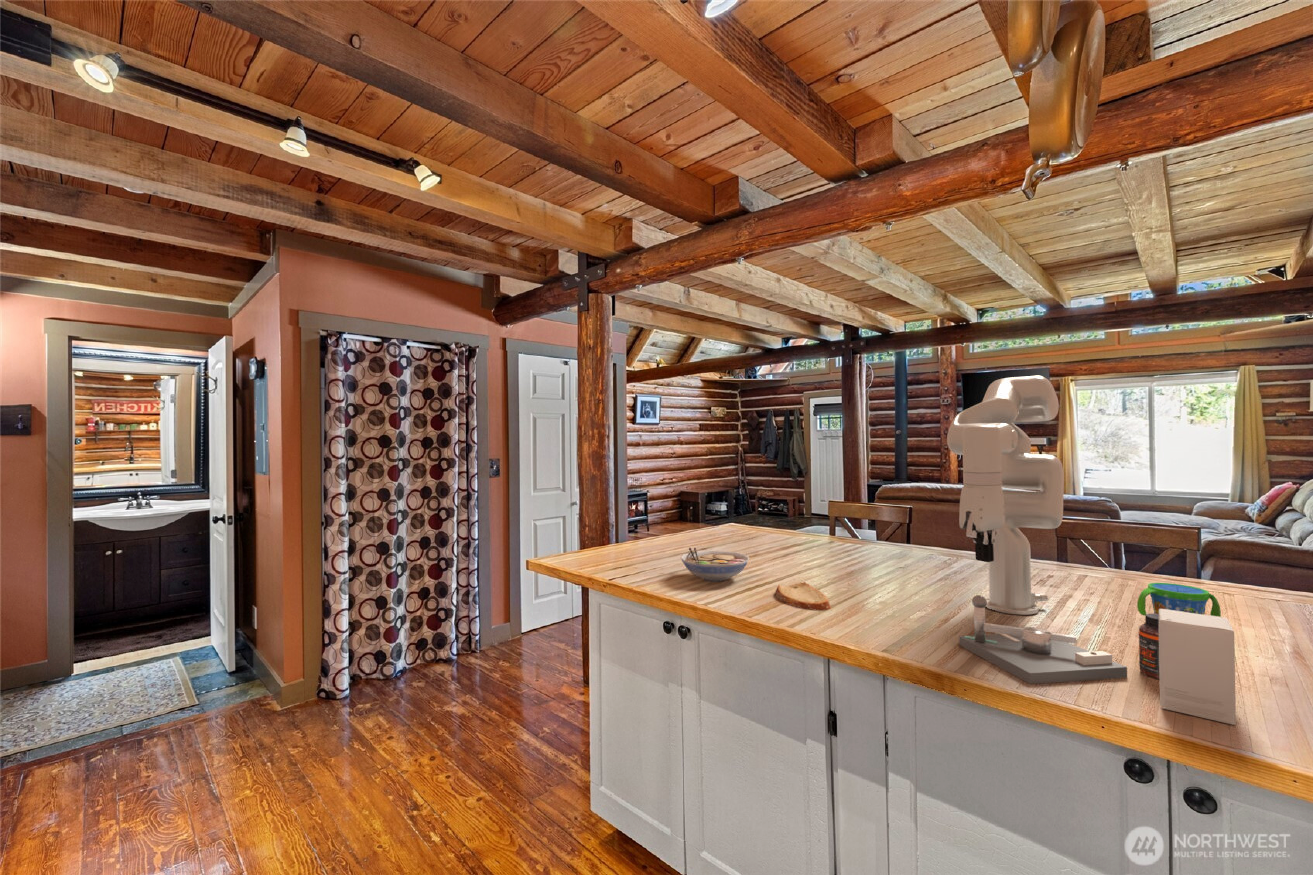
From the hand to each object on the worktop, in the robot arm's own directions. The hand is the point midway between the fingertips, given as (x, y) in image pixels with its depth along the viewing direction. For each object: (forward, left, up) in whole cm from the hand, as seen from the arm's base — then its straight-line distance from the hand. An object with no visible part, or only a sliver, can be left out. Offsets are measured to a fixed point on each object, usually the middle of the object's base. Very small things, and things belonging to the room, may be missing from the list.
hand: (984, 560), depth 125 cm
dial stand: (-2, +12, -18) cm, 22 cm away
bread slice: (+28, -38, -19) cm, 51 cm away
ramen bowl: (+48, -65, -18) cm, 83 cm away
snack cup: (-48, +1, -18) cm, 52 cm away
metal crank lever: (0, +10, -16) cm, 19 cm away
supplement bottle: (-19, +22, -18) cm, 34 cm away
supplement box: (-12, +34, -18) cm, 40 cm away
